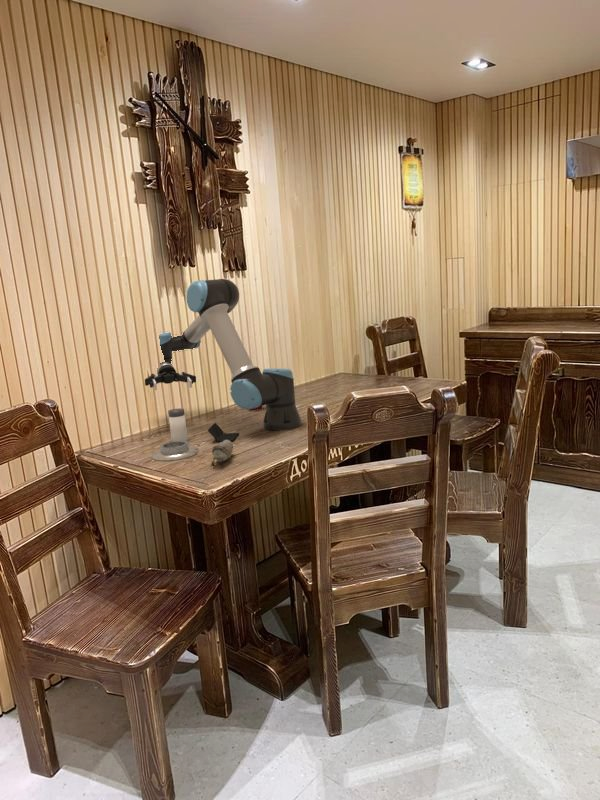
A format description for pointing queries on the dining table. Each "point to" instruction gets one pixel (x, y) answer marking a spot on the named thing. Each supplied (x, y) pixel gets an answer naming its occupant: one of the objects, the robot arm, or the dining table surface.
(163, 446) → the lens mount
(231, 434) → the handheld gaming console
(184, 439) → the lens
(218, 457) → the decorative bird
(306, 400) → the dining table surface
